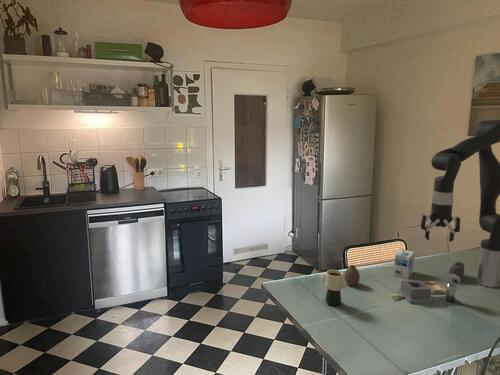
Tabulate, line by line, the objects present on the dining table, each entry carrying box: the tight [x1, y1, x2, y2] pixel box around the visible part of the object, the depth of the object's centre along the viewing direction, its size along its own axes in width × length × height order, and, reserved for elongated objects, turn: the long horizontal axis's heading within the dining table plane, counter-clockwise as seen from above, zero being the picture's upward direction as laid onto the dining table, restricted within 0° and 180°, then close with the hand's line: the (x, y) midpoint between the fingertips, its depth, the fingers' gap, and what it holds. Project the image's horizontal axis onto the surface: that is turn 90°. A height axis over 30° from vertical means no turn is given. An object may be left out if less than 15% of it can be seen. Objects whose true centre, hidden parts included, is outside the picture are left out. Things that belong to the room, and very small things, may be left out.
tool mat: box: [435, 295, 465, 307], centre depth 154 cm, size 8×8×1 cm
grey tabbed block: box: [443, 273, 462, 303], centre depth 153 cm, size 4×7×11 cm, turn 5°
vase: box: [344, 264, 361, 287], centre depth 168 cm, size 7×7×9 cm
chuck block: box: [391, 279, 434, 304], centre depth 156 cm, size 15×10×6 cm, turn 95°
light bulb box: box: [393, 248, 416, 280], centre depth 181 cm, size 11×7×11 cm, turn 143°
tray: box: [422, 280, 447, 294], centre depth 165 cm, size 9×9×2 cm
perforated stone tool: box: [448, 261, 465, 278], centre depth 176 cm, size 15×5×7 cm, turn 134°
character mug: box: [322, 269, 348, 306], centre depth 150 cm, size 11×7×13 cm, turn 45°
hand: (438, 240), depth 154 cm, fingers open, 8 cm apart
